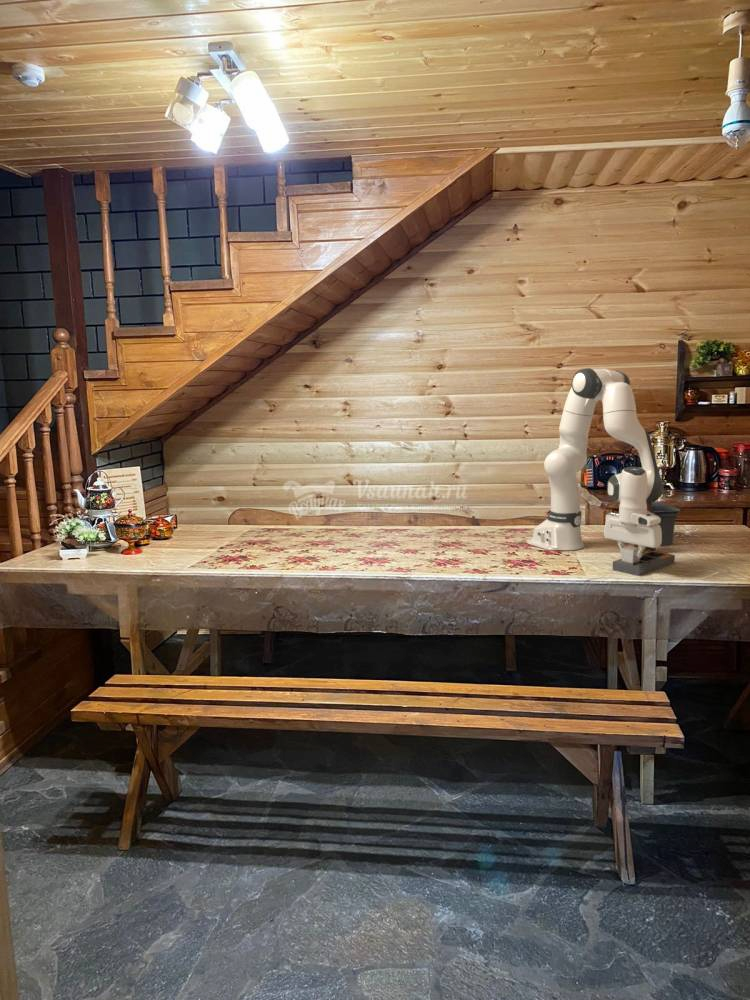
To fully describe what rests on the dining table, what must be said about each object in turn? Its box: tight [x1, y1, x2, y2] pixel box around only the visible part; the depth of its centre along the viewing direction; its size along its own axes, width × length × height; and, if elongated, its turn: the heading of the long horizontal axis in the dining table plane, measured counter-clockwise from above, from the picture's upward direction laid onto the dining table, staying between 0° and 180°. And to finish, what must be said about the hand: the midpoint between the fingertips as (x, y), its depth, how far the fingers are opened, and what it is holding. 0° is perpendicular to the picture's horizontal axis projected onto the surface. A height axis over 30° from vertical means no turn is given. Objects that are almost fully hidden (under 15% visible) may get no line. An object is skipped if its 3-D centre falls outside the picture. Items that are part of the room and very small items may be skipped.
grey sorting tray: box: [612, 550, 676, 577], centre depth 253 cm, size 10×22×4 cm, turn 128°
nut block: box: [621, 545, 640, 565], centre depth 249 cm, size 4×4×7 cm
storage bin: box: [652, 501, 681, 547], centre depth 289 cm, size 21×16×14 cm
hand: (631, 555), depth 249 cm, fingers closed on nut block, 4 cm apart
